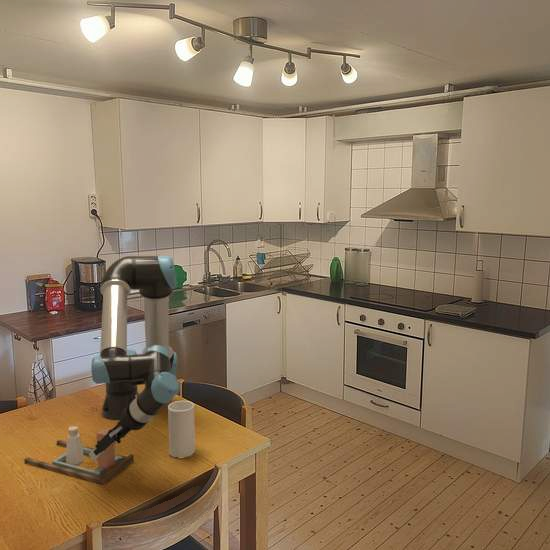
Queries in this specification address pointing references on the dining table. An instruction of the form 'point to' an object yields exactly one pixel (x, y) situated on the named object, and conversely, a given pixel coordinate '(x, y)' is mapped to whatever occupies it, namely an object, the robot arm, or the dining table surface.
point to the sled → (104, 460)
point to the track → (100, 480)
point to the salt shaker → (74, 447)
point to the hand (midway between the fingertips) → (96, 454)
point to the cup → (181, 428)
